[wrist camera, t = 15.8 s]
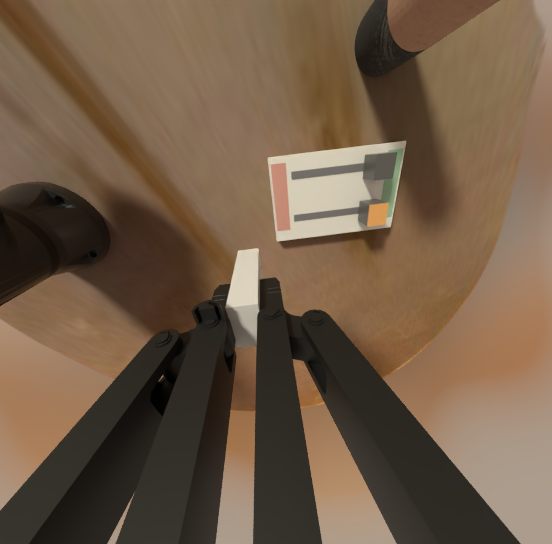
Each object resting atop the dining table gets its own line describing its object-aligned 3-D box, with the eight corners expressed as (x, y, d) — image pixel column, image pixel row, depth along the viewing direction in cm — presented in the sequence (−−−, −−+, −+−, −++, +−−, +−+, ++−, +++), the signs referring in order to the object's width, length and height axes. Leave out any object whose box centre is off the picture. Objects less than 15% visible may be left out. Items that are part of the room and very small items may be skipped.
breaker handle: (357, 220, 37) (367, 226, 34) (359, 200, 35) (370, 205, 32) (373, 218, 37) (385, 224, 34) (376, 198, 35) (389, 202, 32)
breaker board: (276, 237, 40) (278, 249, 35) (267, 157, 33) (268, 157, 28) (385, 224, 40) (403, 233, 35) (398, 141, 33) (423, 138, 28)
